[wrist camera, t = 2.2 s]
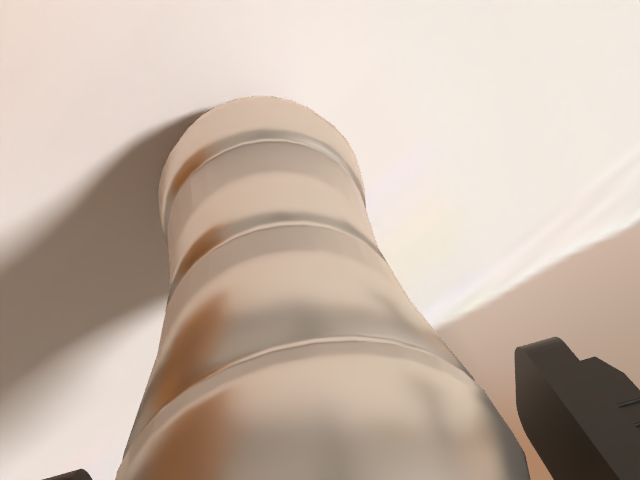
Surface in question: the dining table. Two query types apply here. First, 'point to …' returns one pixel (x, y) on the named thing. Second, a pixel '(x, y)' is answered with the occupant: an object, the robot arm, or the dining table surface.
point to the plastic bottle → (295, 324)
